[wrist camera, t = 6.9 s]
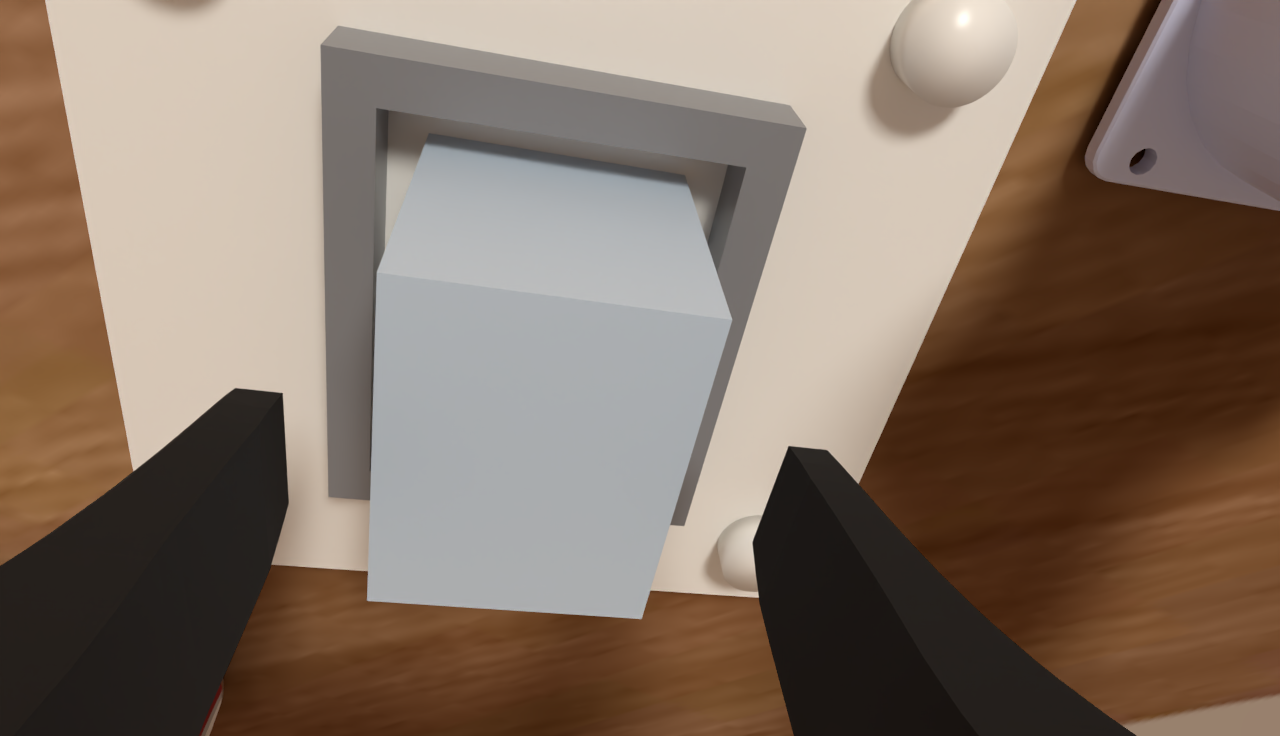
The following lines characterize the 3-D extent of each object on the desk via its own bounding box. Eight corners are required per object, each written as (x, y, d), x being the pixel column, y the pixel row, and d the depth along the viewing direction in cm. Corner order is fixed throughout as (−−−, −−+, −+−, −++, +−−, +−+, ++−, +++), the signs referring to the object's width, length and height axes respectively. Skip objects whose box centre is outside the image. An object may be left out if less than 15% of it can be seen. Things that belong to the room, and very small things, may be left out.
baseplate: (1075, -76, 14) (1150, -57, 12) (797, 571, 23) (817, 638, 21) (25, -318, 11) (-75, -339, 10) (165, 524, 20) (127, 597, 18)
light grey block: (684, 175, 15) (731, 319, 11) (622, 432, 18) (641, 618, 14) (429, 132, 14) (377, 272, 10) (412, 411, 18) (367, 600, 13)
